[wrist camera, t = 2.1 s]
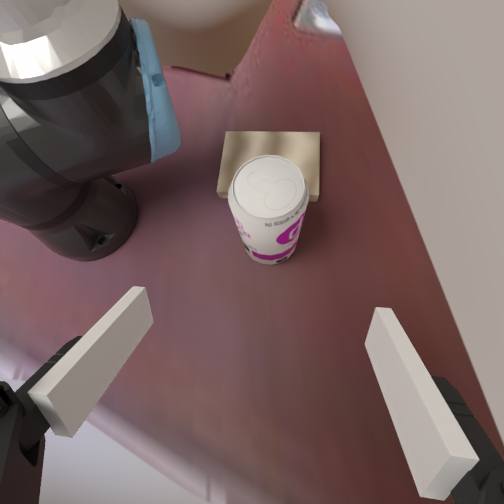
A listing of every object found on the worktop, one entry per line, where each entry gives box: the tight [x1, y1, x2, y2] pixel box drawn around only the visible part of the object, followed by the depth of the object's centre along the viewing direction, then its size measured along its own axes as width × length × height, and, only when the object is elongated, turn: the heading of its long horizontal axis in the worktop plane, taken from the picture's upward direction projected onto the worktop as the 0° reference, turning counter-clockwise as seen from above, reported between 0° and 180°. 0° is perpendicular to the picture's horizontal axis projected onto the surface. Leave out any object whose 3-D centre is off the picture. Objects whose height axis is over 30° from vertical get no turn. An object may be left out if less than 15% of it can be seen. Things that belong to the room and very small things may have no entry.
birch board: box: [216, 131, 320, 202], centre depth 40 cm, size 16×12×2 cm
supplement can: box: [228, 155, 309, 265], centre depth 30 cm, size 8×8×15 cm
